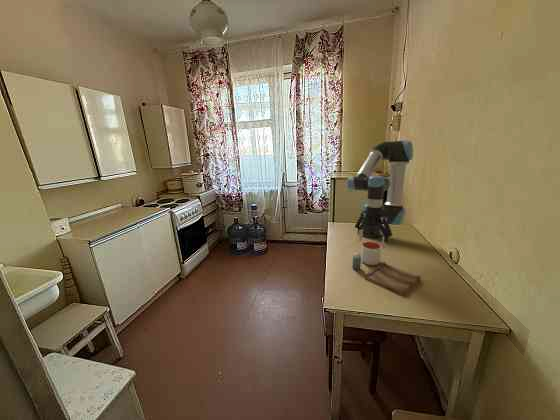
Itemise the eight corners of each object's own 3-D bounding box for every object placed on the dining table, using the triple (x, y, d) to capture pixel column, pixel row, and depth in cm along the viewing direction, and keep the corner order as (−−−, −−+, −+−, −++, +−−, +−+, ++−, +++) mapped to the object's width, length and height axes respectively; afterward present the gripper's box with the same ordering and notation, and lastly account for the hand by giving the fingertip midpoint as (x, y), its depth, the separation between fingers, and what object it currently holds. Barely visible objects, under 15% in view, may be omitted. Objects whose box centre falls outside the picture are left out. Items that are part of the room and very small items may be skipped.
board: (383, 265, 121) (383, 262, 120) (420, 279, 107) (420, 276, 107) (364, 278, 110) (364, 274, 110) (402, 295, 97) (403, 291, 96)
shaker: (355, 265, 122) (356, 250, 120) (361, 268, 119) (362, 253, 117) (350, 268, 120) (351, 253, 117) (357, 271, 117) (358, 255, 114)
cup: (357, 262, 125) (358, 246, 123) (365, 255, 132) (366, 240, 130) (376, 268, 119) (377, 251, 116) (382, 261, 126) (384, 244, 123)
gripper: (349, 203, 124) (347, 239, 130) (395, 212, 105) (390, 253, 111) (357, 201, 129) (355, 235, 134) (402, 209, 110) (398, 249, 115)
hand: (371, 243), depth 122 cm, fingers open, 13 cm apart
